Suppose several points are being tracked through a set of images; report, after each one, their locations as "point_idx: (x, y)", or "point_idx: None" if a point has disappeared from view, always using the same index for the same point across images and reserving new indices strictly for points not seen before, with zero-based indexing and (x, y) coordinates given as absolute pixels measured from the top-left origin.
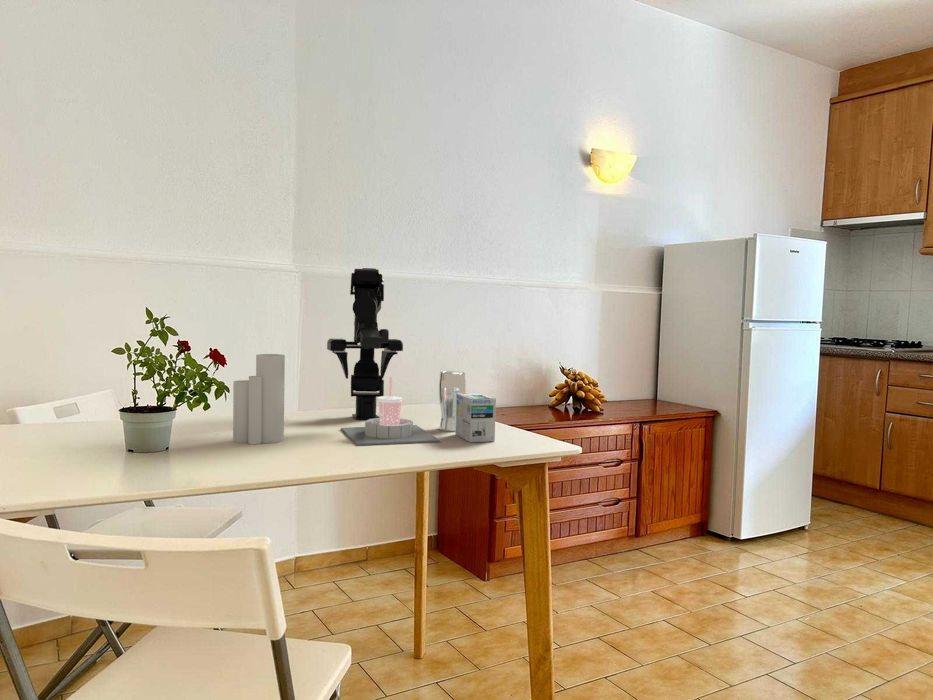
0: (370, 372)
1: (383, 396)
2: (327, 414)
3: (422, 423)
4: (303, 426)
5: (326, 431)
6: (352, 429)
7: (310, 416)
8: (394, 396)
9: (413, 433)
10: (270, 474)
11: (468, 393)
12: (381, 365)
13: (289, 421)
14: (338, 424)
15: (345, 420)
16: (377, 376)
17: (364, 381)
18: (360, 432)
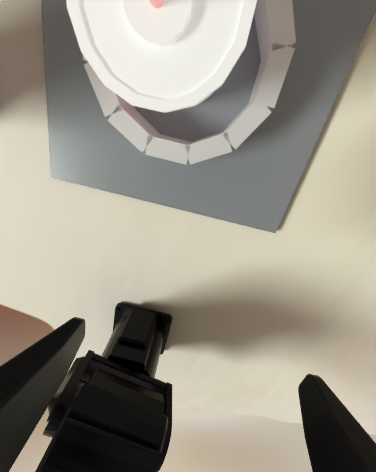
0: (87, 455)
1: (177, 95)
2: (202, 381)
3: (25, 216)
4: (330, 305)
5: (324, 226)
6: (261, 195)
7: (245, 379)
8: (104, 67)
9: None
10: None
11: None
12: (20, 437)
13: (318, 359)
14: (238, 292)
15: (198, 322)
16: (68, 419)
17: (128, 413)
18: (267, 135)
